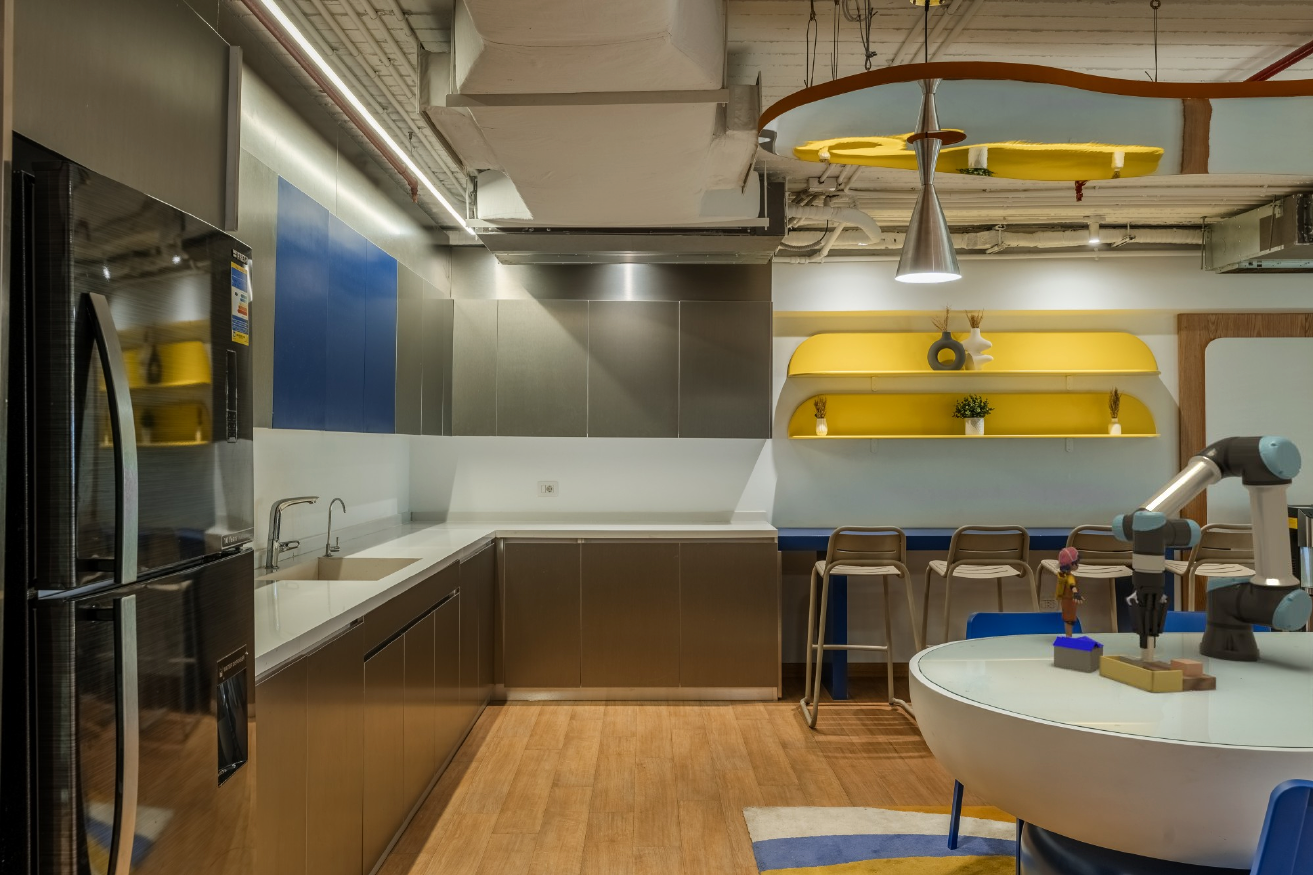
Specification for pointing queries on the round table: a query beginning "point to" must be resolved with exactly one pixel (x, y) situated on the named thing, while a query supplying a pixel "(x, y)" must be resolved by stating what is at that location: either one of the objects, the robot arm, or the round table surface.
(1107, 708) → the round table surface
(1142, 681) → the yellow tray
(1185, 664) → the peach block
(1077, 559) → the toy
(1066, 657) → the house
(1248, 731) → the round table surface
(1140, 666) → the grey square block
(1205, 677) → the walnut board
